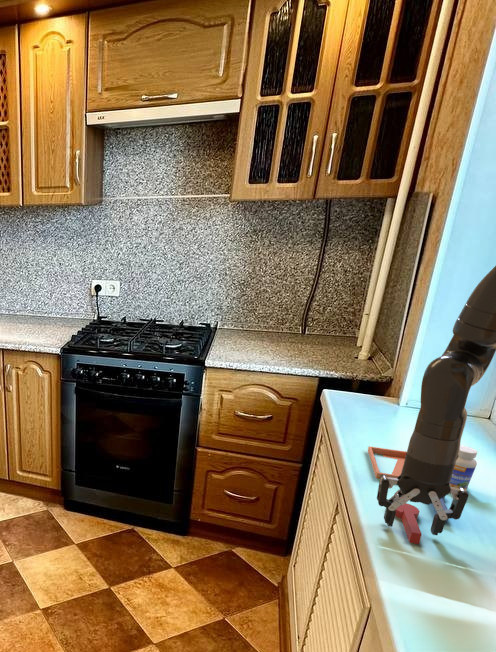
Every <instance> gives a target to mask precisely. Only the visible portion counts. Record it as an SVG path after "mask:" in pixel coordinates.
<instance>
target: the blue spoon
mask: <svg viewBox="0 0 496 652" xmlns="http://www.w3.org/2000/svg"><path fill="white" fill-rule="evenodd" d="M445 499H446V496H445V497H443V498H441V499H440V502H441V504H442V506H443V509H444V510H447V509H448V507H447V504H446V502H445ZM430 505H431V507H432V511H433V513H434V515H435V514H437V511H436V509H435V507H434V505H433V503H432V504H430ZM448 522H449V519H447V520H446V521H445V524H448Z"/></svg>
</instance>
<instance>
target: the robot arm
mask: <svg viewBox="0 0 496 652" xmlns="http://www.w3.org/2000/svg"><path fill="white" fill-rule="evenodd" d="M452 334H453V335H452V337H451V339H450V341H449V343H448V345H447V346H446V348H445V350H444V352H443V353H442V354H441V356H439V357H436V358H435V359H433V360H432V361H431V362H429V364H428V365H427V366H426V369H425V370H424V373H423V376H422V381H421V385H420V386H421V387H420V409H419V410H418V413H417V416H416V421H415V425H414V428H413V432H412V434H411V436H410V437H409V438H410V439H409V441H408V444H407V445H408V446H407V450H406V452H407V453H406V457H405V461H404V465H403V469H402V472H401V475H400V476H399V477H398V478H391V477H387V476H386V475H381V476H380V479H379V482H378V486H377V487H378V488H377V494H376V500H377V504H378V506H379V507H384V508H385V511H384V515H383V520H384V523H385V524H386V525H387V527H389V528H392V527H393V526H394V522H395V519H396V516H395V515H396V509H397V508H398V507H399V506H401V505H404V504H405V503H407V504H408V502H410V503H421V504H423V505H428V506H430V505H431V504H432V503H433V505H434V507H435V509H436V511H437V514H435V513H434V516H433V518H432V523H431V525H430V533H431V534H432V535H433V536H438V535H439V534H442V532H443V531H444V528H445V524H446V523H445V521H446V520H447V519H448V520H450V519H451V520H459V519H460V518H461V516H462V514H463V511H464V509H465V506H466V504H467V501H468V498H469V496H470V494H469V493H468V491H467V489H466V490H465V488H464V487H458V488H454V487H450V485H449V483H450V481H451V477H452V474H453V470H454V467H455V464H456V460H457V459H458V456H459V455H458V453H459V450H460V445H461V442H462V436H463V434H464V430H465V427H466V423H467V419H468V411H467V409H466V404H467V401H468V397H469V393H470V391H471V388H472V387H473V386H474V385H476V384H477V383H479V382H480V380H481V379H482V378H483V377H484V375H485V374H486V372H487V371H488V368H489V367H490V364H491V363H492V361H493V358H494V357H495V354H496V265H494V267H492V269H491V270H490V271H489V272H488V273H487V274H486V275H485V276H484V277H483V278H482V279H481V280H480V281H479V283H478V284H477V285H476V286H475V287H474V289H473V291H472V292H471V294H470V295H469V297H467V300H466V302H465V304H464V305H463V308H462V309H461V311H460V313H459V315H458V316H457V318H456V320H455V322H454V325H453V328H452ZM395 485H397V487H398V490H396V492H394V494H393V495H392V496H391V497H390V498H389V499H388V493H389V489H393V487H394V486H395ZM449 494H451V495H450V496H451V498H452V501H451V503H450V506H449V508H447V510H444V509H443V506H442V504H441V502H440V499H441V498H443V497H445V498H446V496H448V495H449Z"/></svg>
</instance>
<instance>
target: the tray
mask: <svg viewBox="0 0 496 652" xmlns="http://www.w3.org/2000/svg"><path fill="white" fill-rule="evenodd" d="M367 453H368V455H369V460H370V462H371V466H372V470H373V472H374V476H375V479H379V480H380V476H381V475H386V476H387V477H391V478H398V477H399V476H400V475H401V472H402V469H403V465H404V461H405V457H406V453H407V450H406V451H405V450H398V449H390V448H383V447H376V446H370V445H368V447H367ZM375 454H380V455H382V457H383V458H384V457H385V458H389V459H394V460H396V462H395V465H394V467H393V469H392V472H391V473H385V472H380V469H379V466H378V463H377V460H376V457H375Z"/></svg>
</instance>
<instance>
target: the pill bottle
mask: <svg viewBox="0 0 496 652" xmlns="http://www.w3.org/2000/svg"><path fill="white" fill-rule="evenodd" d="M477 454H478V451H477V450H476V449H474V448H472V447H470V446H466V445H461V444H460V450H459V453H458V455H459V456H458V459H457V460H456V464H455V467H454V470H453V474H452V477H451V481H450V483H449V485H450V487H454V488H458V487H464V488H465V490H466V491H467V489H468V488H469V484H470V482H471V480H472V477H473V475H474V472H475V470H476V467H477V464H478V462H477V460H476V459H475V458H476V457H477Z"/></svg>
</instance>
